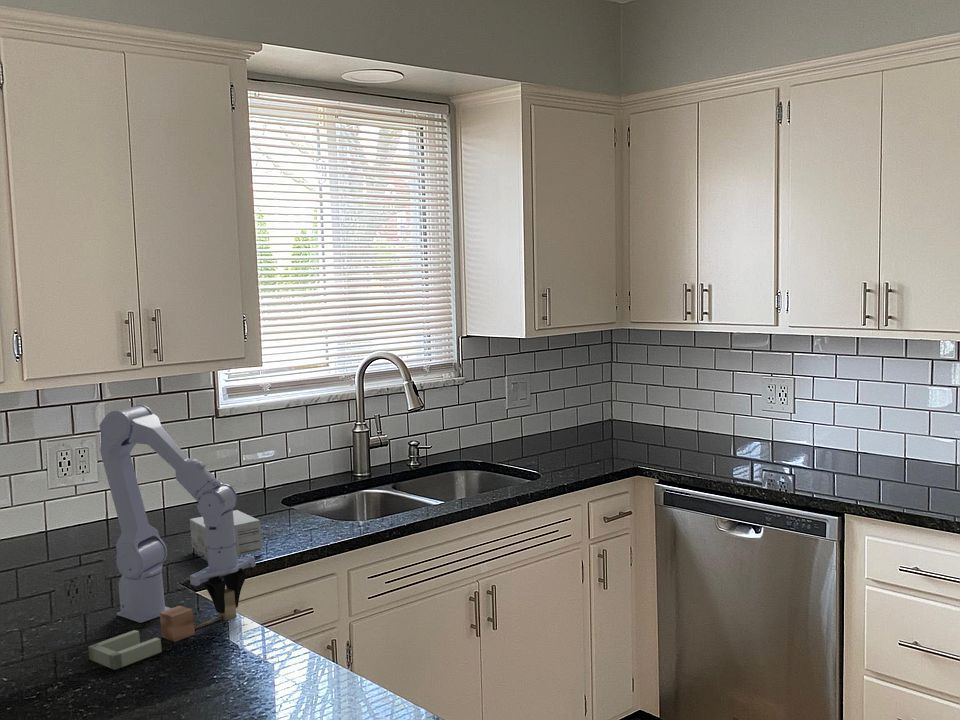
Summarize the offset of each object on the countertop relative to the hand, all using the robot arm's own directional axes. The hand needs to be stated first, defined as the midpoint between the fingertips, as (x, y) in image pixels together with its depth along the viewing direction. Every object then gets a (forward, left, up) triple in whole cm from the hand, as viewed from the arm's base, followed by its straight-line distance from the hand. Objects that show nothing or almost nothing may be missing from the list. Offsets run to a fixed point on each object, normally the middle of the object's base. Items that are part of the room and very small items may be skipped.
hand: (227, 609), depth 193 cm
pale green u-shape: (0, -23, -2) cm, 23 cm away
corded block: (0, -6, -2) cm, 6 cm away
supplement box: (-40, +28, -2) cm, 49 cm away
